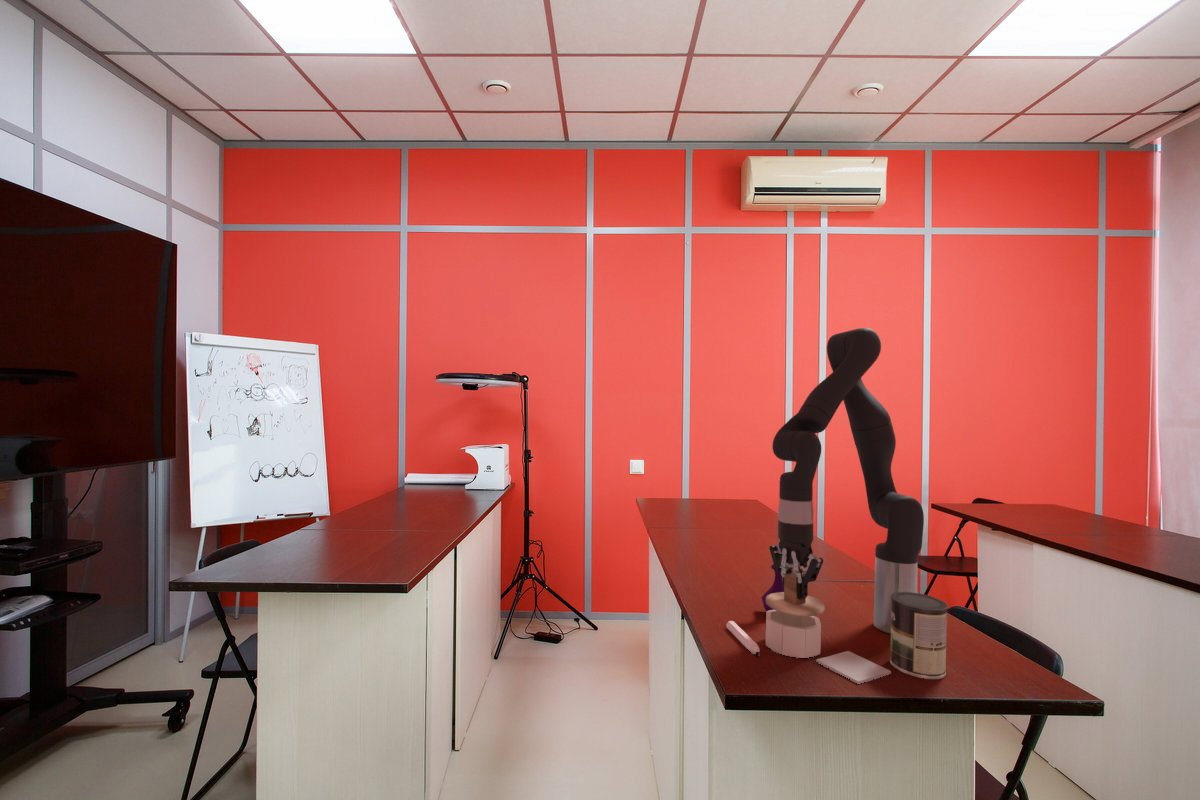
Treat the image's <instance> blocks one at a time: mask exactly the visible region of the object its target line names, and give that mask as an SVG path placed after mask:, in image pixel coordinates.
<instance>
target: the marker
mask: <svg viewBox="0 0 1200 800" xmlns="http://www.w3.org/2000/svg"><path fill="white" fill-rule="evenodd" d="M725 627H726V628H727V630H728V631H729V632H730V633H731V634H732V635H733V636H734V637H735V638H736V639H737V640H738V641H739V643H740V644H741V645H742V646H744V647H745V648H746V650H747V649H748V650H749V651H750V652H751V653H750V652H749V651H748V650H747V651H748V652H749V653H750V654H752V655H754V654H755V655H754V656H758V657H761V655H760V650H761V648H760V647H759V645H758V644H757V643H756V642H755V640H753V639H752V638H751V637H750V636H749V635H748V633H747V632H745V631H744V630H743V629H742V628H741V627H740V626H739V625H738V624H737V623H736V622H735V621H734V620H729V621H727V622H726V625H725Z"/></svg>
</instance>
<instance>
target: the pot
mask: <svg viewBox="0 0 1200 800" xmlns="http://www.w3.org/2000/svg"><path fill="white" fill-rule="evenodd" d="M765 613H766V614H765V615H766V616H765V647H767V648H768V649H769V648H770V649H771V651H772V652H773V653H775V652H776V653H775V654H778V653H779V654H778V655H780V654H782V655H781V656H783V655H785V656H784V657H786V656H790V657H789V658H791V657H796V658H795V659H798V658H808V659H810V658H809V657H813V658H815V657H817V656H819V655H821V650H822V649H821V646H822V645H821V644H822V641H821V640H822V639H821V638H822V624H821V621H820V618H819V617H817V616H816V615H814V616H798V615H791V614H786V613H782V612H779V611H776V610H770V611H766V610H765ZM770 649H769V650H770ZM814 656H815V657H814Z"/></svg>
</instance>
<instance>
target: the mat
mask: <svg viewBox="0 0 1200 800" xmlns="http://www.w3.org/2000/svg"><path fill="white" fill-rule="evenodd" d="M817 662H818V663H817ZM816 663H817V664H819V665H820V664H821V665H820V666H822V665H823V666H822V667H824V668H827V669H828V668H829V669H828V670H830V671H832V672H833V673H836V674H837V673H838V675H839V674H840V676H841V675H842V677H843V676H844V677H843V678H845V677H846V679H847V678H848V679H847V680H849V679H850V680H849V681H851V682H853V683H854V684H856V683H857V685H858V684H859V685H861V683H862V684H865V683H868V682H871V681H874V680H878V679H879V678H880V677H881V678H884V677H887V676H889V674H890V675H892V671H891V670H890V669H887V668H885V667H883V666H881V665H879V664H876V663H874V662H873V661H871V660H869V659H866V658H864V657H862V656H860V655H857V654H856V653H854V652H852V651H849V650H845V651H842V652H838V653H835V654H831V655H829V656H825V657H820V658H817V659H816ZM886 675H887V676H886ZM883 676H884V677H883ZM881 678H880V679H881ZM873 679H874V680H873ZM864 682H865V683H864Z"/></svg>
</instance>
